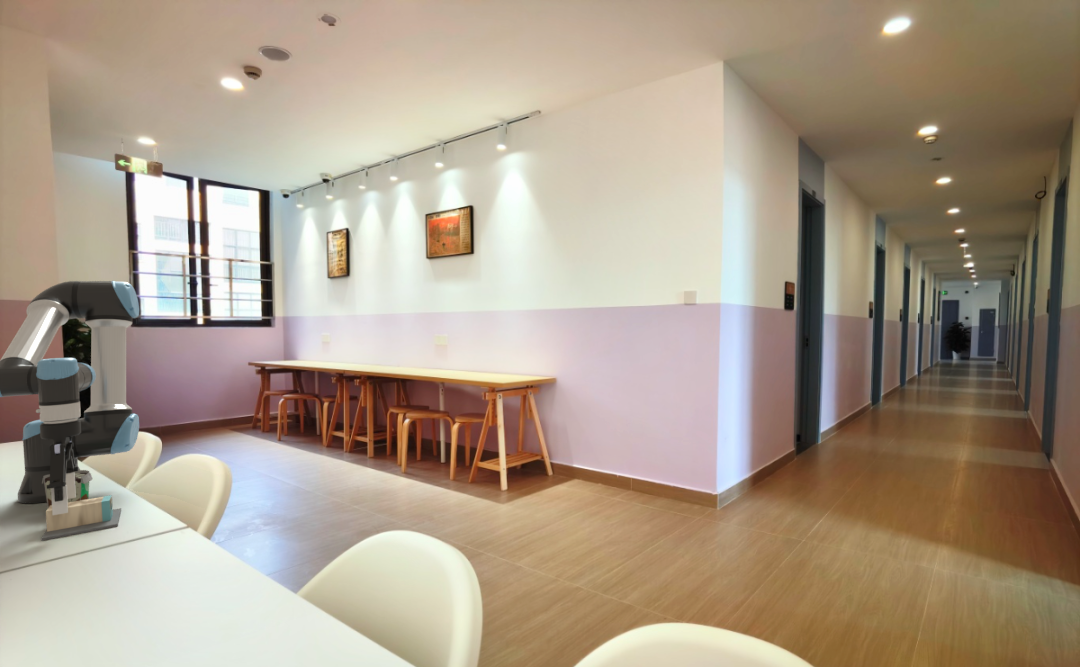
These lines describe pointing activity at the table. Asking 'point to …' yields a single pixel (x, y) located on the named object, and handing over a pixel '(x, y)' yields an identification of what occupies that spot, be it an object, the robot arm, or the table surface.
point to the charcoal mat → (84, 527)
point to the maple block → (81, 513)
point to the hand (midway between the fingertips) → (64, 505)
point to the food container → (80, 485)
